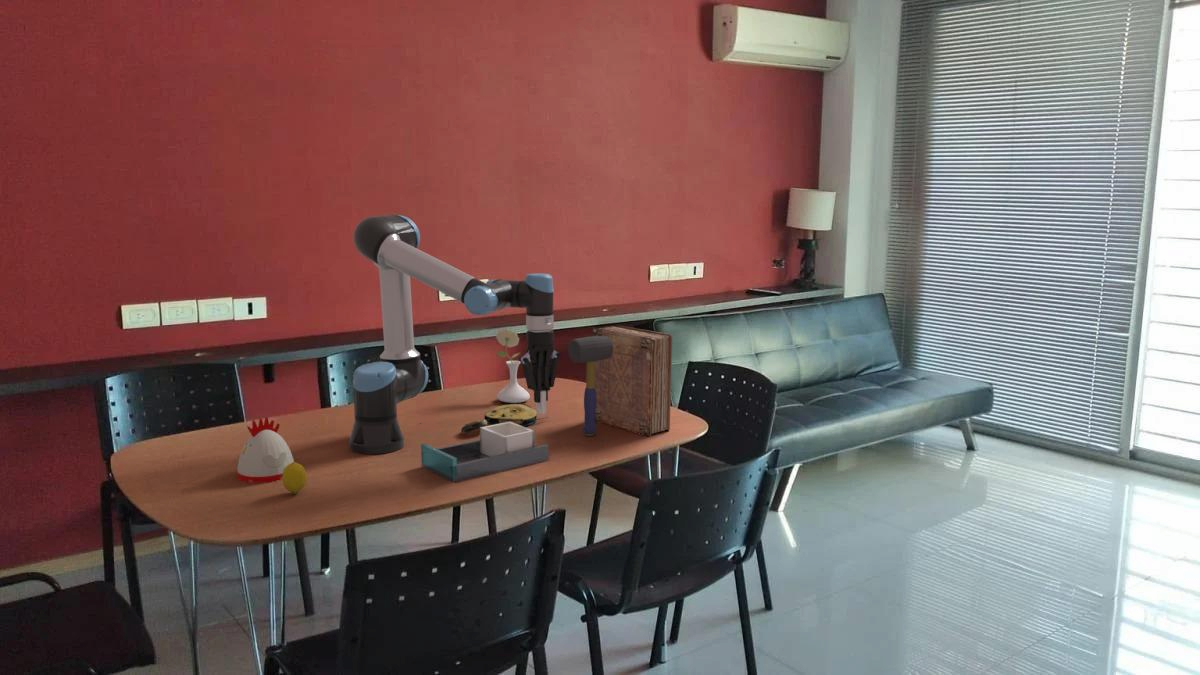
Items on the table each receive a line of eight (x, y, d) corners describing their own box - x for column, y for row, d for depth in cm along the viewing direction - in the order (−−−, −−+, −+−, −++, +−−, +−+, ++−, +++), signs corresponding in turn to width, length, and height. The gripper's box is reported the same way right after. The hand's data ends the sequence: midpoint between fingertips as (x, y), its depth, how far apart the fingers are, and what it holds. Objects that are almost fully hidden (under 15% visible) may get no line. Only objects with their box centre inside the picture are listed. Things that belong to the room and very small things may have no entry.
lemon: (310, 489, 220) (308, 458, 219) (303, 497, 215) (301, 465, 214) (287, 489, 220) (285, 458, 219) (280, 497, 215) (278, 465, 213)
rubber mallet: (579, 441, 264) (580, 340, 258) (565, 435, 270) (566, 336, 264) (613, 435, 271) (615, 336, 265) (599, 429, 277) (601, 332, 271)
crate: (504, 462, 239) (504, 437, 238) (480, 452, 248) (479, 427, 247) (535, 455, 245) (535, 430, 244) (510, 445, 254) (510, 421, 253)
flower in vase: (536, 400, 311) (536, 329, 307) (516, 407, 302) (516, 333, 297) (506, 395, 318) (506, 325, 313) (486, 401, 308) (485, 329, 304)
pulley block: (448, 411, 271) (522, 394, 293) (446, 429, 272) (520, 411, 294) (478, 427, 262) (552, 409, 284) (476, 445, 264) (550, 426, 285)
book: (670, 431, 275) (673, 334, 270) (649, 437, 269) (652, 338, 264) (612, 415, 293) (613, 324, 288) (591, 420, 287) (592, 327, 282)
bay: (452, 482, 227) (452, 459, 226) (421, 466, 239) (421, 444, 238) (548, 460, 246) (548, 438, 245) (514, 446, 258) (514, 425, 257)
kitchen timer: (228, 473, 232) (225, 417, 229) (280, 462, 241) (277, 408, 239) (252, 487, 222) (248, 428, 219) (304, 474, 232) (301, 418, 229)
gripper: (528, 334, 241) (530, 419, 245) (567, 329, 249) (567, 411, 253) (512, 330, 246) (514, 414, 250) (550, 325, 255) (551, 406, 259)
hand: (541, 413), depth 252 cm, fingers closed
